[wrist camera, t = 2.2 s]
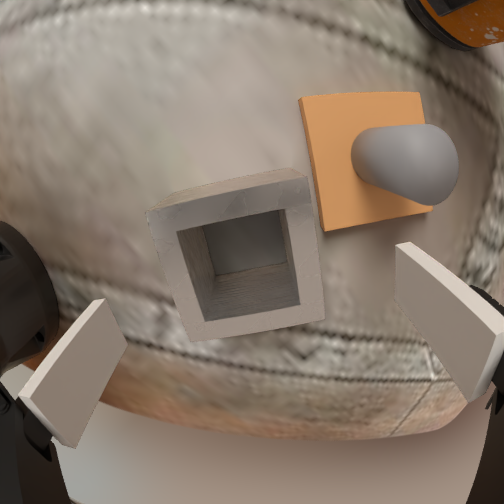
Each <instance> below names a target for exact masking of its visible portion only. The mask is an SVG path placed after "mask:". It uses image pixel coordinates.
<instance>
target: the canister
mask: <svg viewBox="0 0 504 504" xmlns="http://www.w3.org/2000/svg"><path fill="white" fill-rule="evenodd" d="M406 2H407V3H408V5H409V7H410V9H411V10H412V11H413V13H414V14H415V16H416V17H417V18H418V19H419V21H420V22H421V23H422V24H423V25H424V26H425V27H426V28H427V29H428V30H429V31H430V32H431V33H432V34H433V35H434V36H436V37H437V38H438V39H439V40H441V41H442V42H444V43H445V44H447V45H449V46H451V47H453V48H455V49H458V50H463V51H468V50H471V49H475V48H479V47H483V46H487V45H491V44H495V43H499V42H504V0H406Z"/></svg>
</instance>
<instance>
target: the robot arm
mask: <svg viewBox="0 0 504 504" xmlns="http://www.w3.org/2000/svg"><path fill="white" fill-rule="evenodd" d="M394 300H395V302H396V303H397V304H398V305H399V307H400V308H401V309H402V310H403V312H404V313H405V314H406V316H407V317H408V318H409V319H410V321H411V322H412V323H413V325H414V326H415V327H416V328H417V330H418V331H419V332H420V334H421V335H422V336H423V338H424V339H425V341H426V342H427V343H428V345H429V346H430V347H431V349H432V350H433V351H434V353H435V354H436V356H437V357H438V358H439V360H440V361H441V363H442V364H443V366H444V367H445V368H446V370H447V371H448V373H449V374H450V376H451V377H452V379H453V380H454V382H455V383H456V385H457V386H458V388H459V389H460V391H461V392H462V394H463V395H464V397H465V399H466V400H467V402H468V403H469V402H471V401H473V400H475V399H476V398H478V397H480V396H482V395H484V394H485V393H486V391H487V389H488V387H489V385H490V383H491V381H492V382H493V383H494V384H495V386H496V388H495V390H494V392H493V394H492V396H491V398H490V400H489V401H488V403H487V405H486V408H485V409H488V408H489V406H490V405H491V403H492V407H491V413H490V419H489V425H488V430H487V435H486V440H485V444H484V448H483V452H482V456H481V460H480V464H479V467H478V470H477V474H476V477H475V480H474V483H473V486H472V489H471V491H470V494H469V497H468V500H467V502H466V504H504V307H503V306H502V305H501V304H500V305H499V303H498V302H497V301H496V300H495V299H492V297H491V296H490V295H489V294H488V293H486V292H485V291H484V290H482V289H480V288H478V287H475V286H473V285H470V286H468V285H467V284H465V283H464V282H463V281H462V280H460V279H459V278H458V277H457V276H455V275H454V274H453V273H452V272H450V271H449V270H448V269H446V268H445V267H444V266H443V265H441V264H440V263H439V262H437V261H436V260H435V259H433V258H432V257H431V256H429V255H428V254H427V253H425V252H424V251H422V250H421V249H420V248H418V247H417V246H415V245H414V244H413V243H411V242H406V243H401V244H397V245H395V296H394ZM58 325H59V312H58V305H57V300H56V297H55V293H54V290H53V287H52V284H51V282H50V279H49V277H48V275H47V272H46V270H45V268H44V266H43V264H42V263H41V261H40V259H39V257H38V256H37V254H36V253H35V251H34V250H33V248H32V247H31V246H30V244H29V243H28V242H27V240H26V239H25V238H24V237H23V236H22V235H21V234H20V233H19V232H18V231H17V230H16V229H14V228H13V227H12V226H10V225H9V224H7V223H5V222H2V221H0V377H1V376H2V375H3V374H4V373H5V372H6V371H8V370H10V369H12V368H14V367H16V366H18V365H19V364H21V363H23V362H25V361H27V360H29V359H31V358H33V357H35V356H37V355H38V354H40V353H41V352H43V351H44V350H45V349H46V347H47V346H48V345H49V344H50V342H51V341H52V340H53V339H54V337H55V336H56V333H57V330H58ZM127 346H128V344H127V342H126V340H125V338H124V336H123V334H122V332H121V330H120V328H119V326H118V324H117V322H116V320H115V318H114V315H113V313H112V311H111V309H110V307H109V304H108V302H107V300H106V298H105V299H98V300H94V301H93V302H92V303H91V304H90V305H89V306H88V307H87V308H86V310H85V311H84V312H83V313H82V314H81V315H80V316H79V318H78V319H77V320H76V321H75V322H74V323H73V325H72V326H71V327H70V328H69V329H68V331H67V332H66V333H65V334H64V335H63V337H62V338H61V339H60V340H59V341H58V343H57V344H56V345H55V346H54V348H53V349H52V350H51V351H50V353H49V354H48V355H47V356H46V358H45V359H44V360H43V362H42V363H41V364H40V365H39V367H38V368H37V369H36V371H35V372H34V373H33V375H32V376H31V377H30V379H29V380H28V382H27V383H26V384H25V386H24V387H23V388H22V390H21V391H20V393H19V394H18V398H17V399H16V400H14V399H13V398H12V396H11V395H10V394H9V392H8V391H7V390H6V388H5V387H4V386H3V384H2V383H1V382H0V504H71V501H70V499H69V496H68V492H67V489H66V486H65V483H64V479H63V476H62V472H61V468H60V464H59V460H58V456H57V451H56V447H55V445H54V443H52V441H51V438H52V436H54V437H55V438H56V439H57V440H58V441H59V442H60V443H61V444H62V445H64V446H68V447H72V448H75V449H76V447H77V445H78V442H79V440H80V438H81V436H82V434H83V431H84V429H85V427H86V425H87V423H88V421H89V419H90V417H91V414H92V413H93V411H94V408H95V407H96V404H97V402H98V401H99V399H100V397H101V395H102V393H103V391H104V389H105V387H106V385H107V383H108V381H109V379H110V377H111V375H112V373H113V371H114V370H115V368H116V366H117V364H118V362H119V360H120V358H121V357H122V355H123V353H124V351H125V349H126V347H127Z"/></svg>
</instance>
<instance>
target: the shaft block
mask: <svg viewBox="0 0 504 504" xmlns="http://www.w3.org/2000/svg"><path fill="white" fill-rule="evenodd" d="M298 101H299V106H300V110H301V115H302V120H303V124H304V129H305V134H306V139H307V145H308V150H309V155H310V161H311V167H312V172H313V178H314V184H315V191H316V197H317V204H318V211H319V218H320V225H321V227H322V229H323V230H324V231H329V230H335V229H340V228H345V227H350V226H355V225H361V224H366V223H371V222H376V221H382V220H387V219H392V218H397V217H403V216H408V215H413V214H419V213H424V212H429V211H433V206H432V205H436V204H439V203H441V202H442V201H444V200H445V199H446V198H447V197H448V196H449V195H450V194H451V192H452V191H453V189H454V187H455V185H456V182H457V178H458V172H459V161H458V155H457V151H456V148H455V146H454V144H453V142H452V140H451V139H450V137H449V136H448V135H447V134H446V133H445V132H444V131H443V130H442V129H440V128H439V127H437V126H434V125H431V124H425V120H424V114H423V109H422V103H421V98H420V94H419V92H356V93H339V94H327V95H317V96H307V97H301V98H300V99H299V100H298Z"/></svg>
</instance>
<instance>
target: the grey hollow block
mask: <svg viewBox="0 0 504 504" xmlns="http://www.w3.org/2000/svg"><path fill="white" fill-rule="evenodd" d="M274 210H278V212H279V218H280V223H281V229H282V234H283V240H284V245H285V251H286V257H287V262H285V263H280V264H275V265H270V266H265V267H259V268H254V269H249V270H244V271H239V272H233V273H228V274H223V275H217V276H216V275H215V271H214V268H213V264H212V261H211V257H210V254H209V250H208V246H207V243H206V239H205V235H204V232H203V228H202V225H206V224H211V223H215V222H220V221H225V220H229V219H234V218H239V217H244V216H249V215H254V214H259V213H264V212H269V211H274ZM145 214H146V218H147V221H148V224H149V228H150V231H151V234H152V237H153V241H154V244H155V247H156V250H157V253H158V256H159V259H160V262H161V265H162V268H163V271H164V274H165V277H166V279H167V282H168V285H169V288H170V291H171V293H172V296H173V299H174V301H175V304H176V307H177V309H178V312H179V315H180V317H181V320H182V322H183V325H184V327H185V330H186V332H187V335H188V337H189V340H190V342H196V341H204V340H211V339H219V338H226V337H232V336H239V335H245V334H251V333H257V332H263V331H268V330H274V329H279V328H285V327H290V326H295V325H300V324H305V323H309V322H314V321H319V320H323V319H325V308H324V298H323V288H322V278H321V269H320V261H319V253H318V245H317V237H316V230H315V223H314V216H313V209H312V203H311V196H310V190H309V184H308V178H307V176H305V175H303V174H301V173H299V172H297V171H295V170H293V169H291V168H284V169H278V170H273V171H268V172H263V173H258V174H253V175H248V176H243V177H238V178H233V179H229V180H224V181H220V182H216V183H211V184H207V185H203V186H199V187H195V188H191V189H187V190H183V191H179V192H175V193H173V194H172V195H170V196H169V197H167V198H166V199H164V200H163V201H161V202H160V203H158V204H157V205H155V206H154V207H152V208H151V209H149V210H148V211H146V212H145Z"/></svg>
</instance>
